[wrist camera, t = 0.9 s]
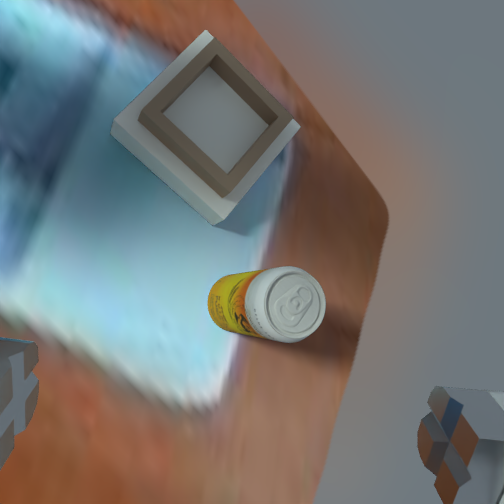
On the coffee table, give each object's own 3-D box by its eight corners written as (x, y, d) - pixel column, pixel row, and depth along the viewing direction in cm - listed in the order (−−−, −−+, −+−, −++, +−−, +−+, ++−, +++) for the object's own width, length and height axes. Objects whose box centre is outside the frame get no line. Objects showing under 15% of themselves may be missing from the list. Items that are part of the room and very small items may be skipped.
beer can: (193, 302, 47) (244, 303, 34) (233, 263, 50) (296, 249, 36) (231, 343, 49) (295, 360, 35) (268, 303, 51) (343, 305, 37)
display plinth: (109, 133, 46) (115, 108, 40) (195, 49, 50) (212, 15, 44) (212, 225, 49) (232, 215, 43) (285, 138, 53) (312, 118, 47)
